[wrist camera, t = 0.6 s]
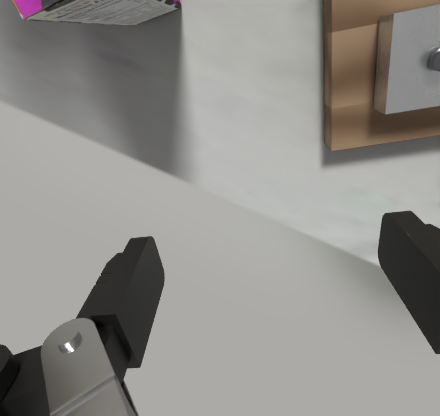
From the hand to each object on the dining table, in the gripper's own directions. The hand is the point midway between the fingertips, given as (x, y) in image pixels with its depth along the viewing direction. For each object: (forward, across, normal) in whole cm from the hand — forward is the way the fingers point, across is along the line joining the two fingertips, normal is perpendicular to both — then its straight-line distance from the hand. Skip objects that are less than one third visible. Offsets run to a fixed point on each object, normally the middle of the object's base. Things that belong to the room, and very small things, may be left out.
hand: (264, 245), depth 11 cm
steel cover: (+19, -15, -3) cm, 24 cm away
